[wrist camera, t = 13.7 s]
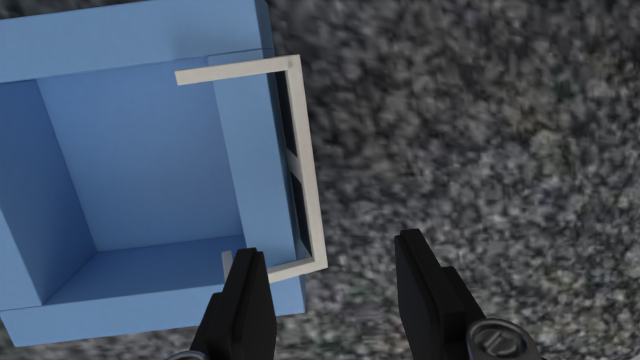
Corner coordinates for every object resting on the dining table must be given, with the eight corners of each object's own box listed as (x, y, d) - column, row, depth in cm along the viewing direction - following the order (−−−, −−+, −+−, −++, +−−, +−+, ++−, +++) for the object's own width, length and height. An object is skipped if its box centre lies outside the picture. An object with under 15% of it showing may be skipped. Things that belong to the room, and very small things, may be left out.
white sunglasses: (283, 55, 24) (300, 54, 20) (310, 238, 29) (329, 267, 25) (178, 69, 23) (173, 70, 19) (223, 260, 27) (227, 295, 23)
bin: (-18, 40, 27) (-136, 37, 20) (267, 2, 26) (252, -14, 19) (77, 283, 33) (14, 347, 26) (305, 255, 33) (305, 312, 26)
